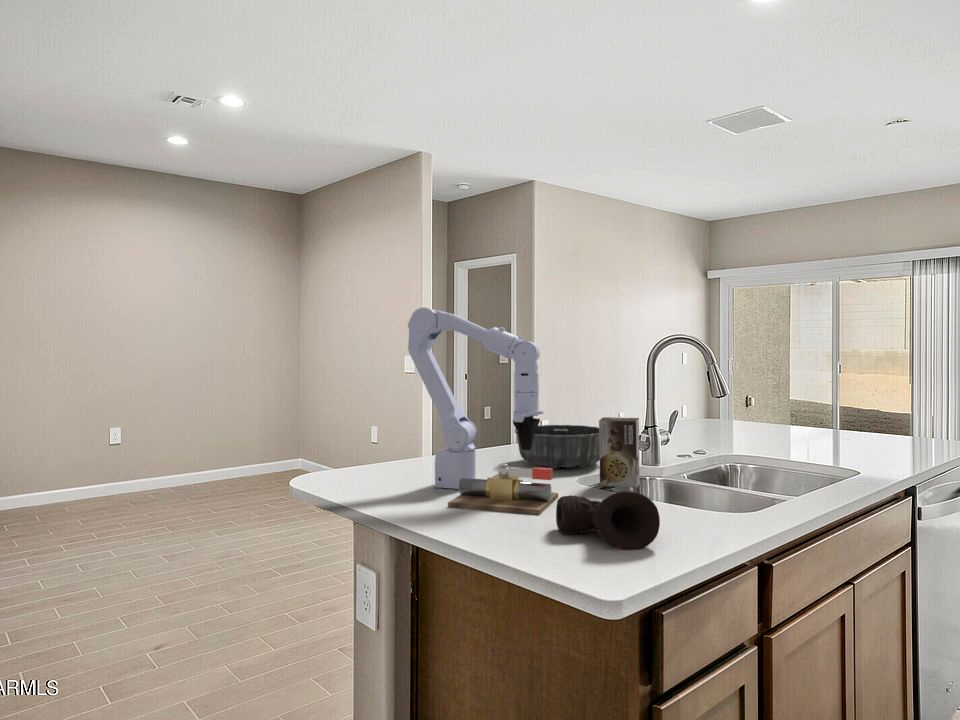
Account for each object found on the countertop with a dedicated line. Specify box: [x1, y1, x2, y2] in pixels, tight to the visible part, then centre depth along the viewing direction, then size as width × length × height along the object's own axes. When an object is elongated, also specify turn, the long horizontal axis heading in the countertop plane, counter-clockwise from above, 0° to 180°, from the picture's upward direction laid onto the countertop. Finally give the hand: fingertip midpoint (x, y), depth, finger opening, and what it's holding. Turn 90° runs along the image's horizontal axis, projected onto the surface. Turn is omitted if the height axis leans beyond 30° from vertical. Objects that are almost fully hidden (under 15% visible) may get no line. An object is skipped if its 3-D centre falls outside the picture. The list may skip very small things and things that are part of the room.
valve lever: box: [497, 463, 554, 481], centre depth 146 cm, size 12×3×3 cm, turn 71°
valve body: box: [458, 474, 552, 501], centre depth 148 cm, size 20×5×5 cm, turn 70°
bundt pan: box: [514, 424, 600, 469], centre depth 193 cm, size 26×26×10 cm
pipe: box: [555, 490, 661, 551], centre depth 121 cm, size 10×15×15 cm
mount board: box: [447, 491, 559, 516], centre depth 148 cm, size 20×16×1 cm
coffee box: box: [598, 416, 641, 489], centre depth 165 cm, size 9×6×16 cm
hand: (526, 449), depth 160 cm, fingers closed
